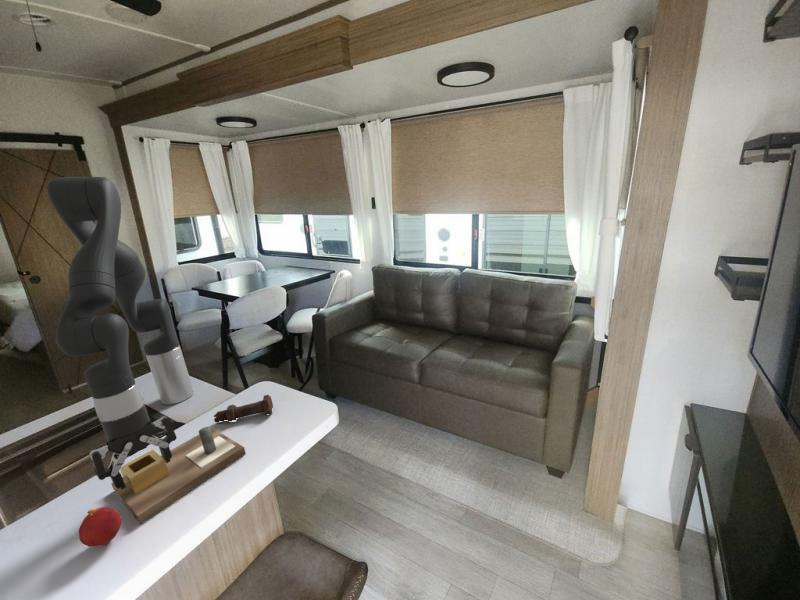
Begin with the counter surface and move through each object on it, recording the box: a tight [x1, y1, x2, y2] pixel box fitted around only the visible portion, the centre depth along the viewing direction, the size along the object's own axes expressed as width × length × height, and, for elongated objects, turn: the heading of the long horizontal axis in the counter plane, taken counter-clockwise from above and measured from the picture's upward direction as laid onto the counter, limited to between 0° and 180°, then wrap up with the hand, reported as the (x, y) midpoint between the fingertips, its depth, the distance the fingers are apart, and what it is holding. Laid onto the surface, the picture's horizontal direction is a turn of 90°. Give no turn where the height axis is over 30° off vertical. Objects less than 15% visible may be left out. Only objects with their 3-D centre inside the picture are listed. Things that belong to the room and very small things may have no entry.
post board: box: [110, 426, 247, 525], centre depth 80 cm, size 16×22×8 cm
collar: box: [119, 449, 169, 495], centre depth 76 cm, size 6×6×4 cm
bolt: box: [213, 394, 274, 423], centre depth 99 cm, size 6×5×15 cm
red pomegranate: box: [78, 506, 122, 547], centre depth 63 cm, size 6×6×8 cm
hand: (145, 473), depth 76 cm, fingers open, 8 cm apart
